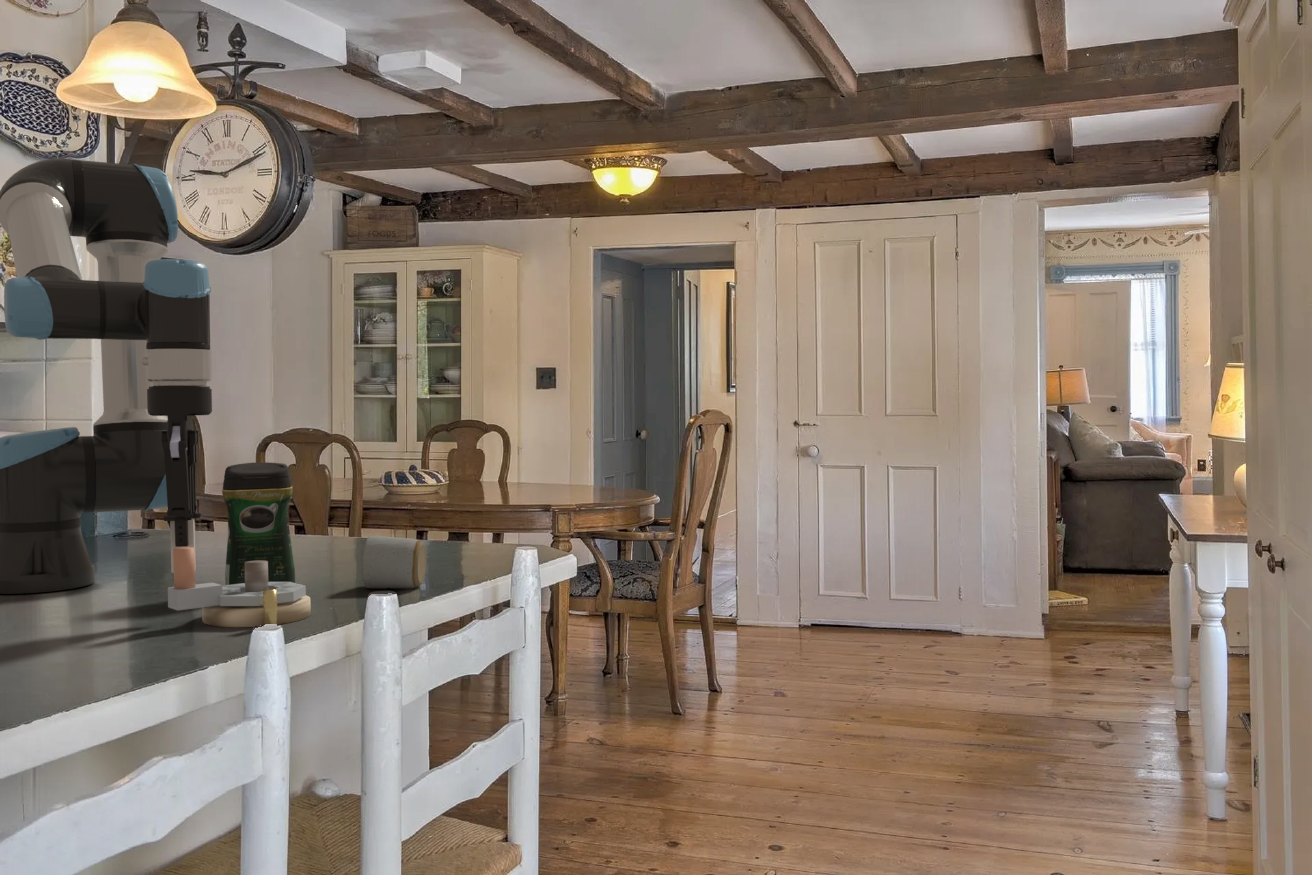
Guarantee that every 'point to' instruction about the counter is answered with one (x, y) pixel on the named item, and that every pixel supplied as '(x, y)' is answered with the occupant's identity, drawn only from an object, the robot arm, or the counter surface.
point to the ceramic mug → (393, 562)
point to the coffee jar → (258, 520)
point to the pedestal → (254, 614)
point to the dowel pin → (270, 606)
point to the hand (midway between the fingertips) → (183, 571)
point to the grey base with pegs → (218, 588)
